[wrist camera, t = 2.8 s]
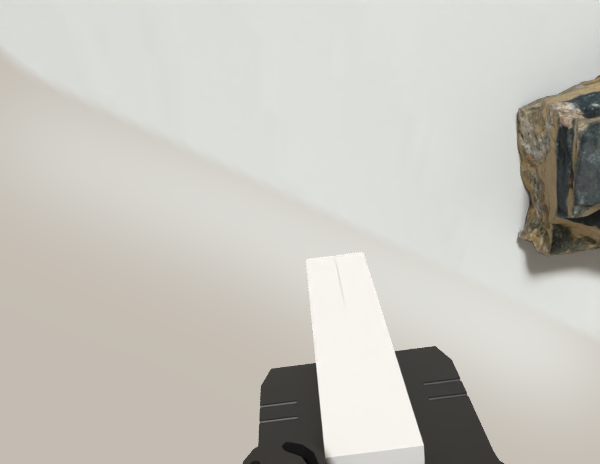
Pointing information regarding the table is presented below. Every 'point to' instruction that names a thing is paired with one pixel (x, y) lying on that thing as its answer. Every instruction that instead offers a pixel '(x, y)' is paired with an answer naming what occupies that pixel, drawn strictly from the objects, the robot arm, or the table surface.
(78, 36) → the table surface
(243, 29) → the table surface
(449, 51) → the table surface
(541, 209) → the rock
